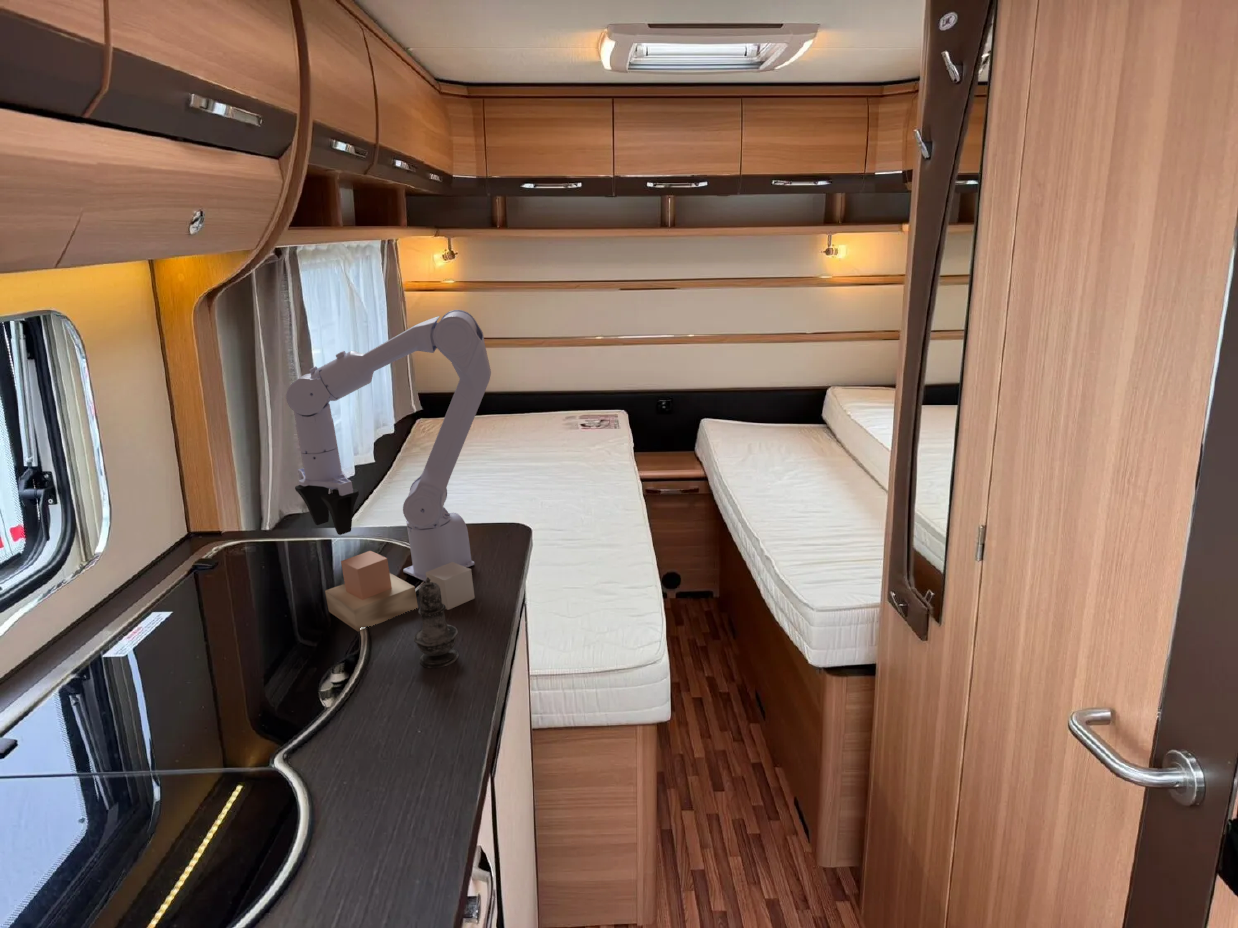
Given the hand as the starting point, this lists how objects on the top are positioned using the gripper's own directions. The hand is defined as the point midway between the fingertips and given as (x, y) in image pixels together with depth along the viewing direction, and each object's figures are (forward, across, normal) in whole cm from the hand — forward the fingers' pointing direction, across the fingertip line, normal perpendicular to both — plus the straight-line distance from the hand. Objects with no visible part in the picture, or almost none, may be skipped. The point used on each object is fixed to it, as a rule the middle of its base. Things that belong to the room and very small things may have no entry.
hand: (333, 527), depth 143 cm
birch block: (+10, +15, -3) cm, 18 cm away
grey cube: (+10, +22, +7) cm, 25 cm away
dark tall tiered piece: (+10, +36, -5) cm, 38 cm away
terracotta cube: (+6, +15, -3) cm, 16 cm away
